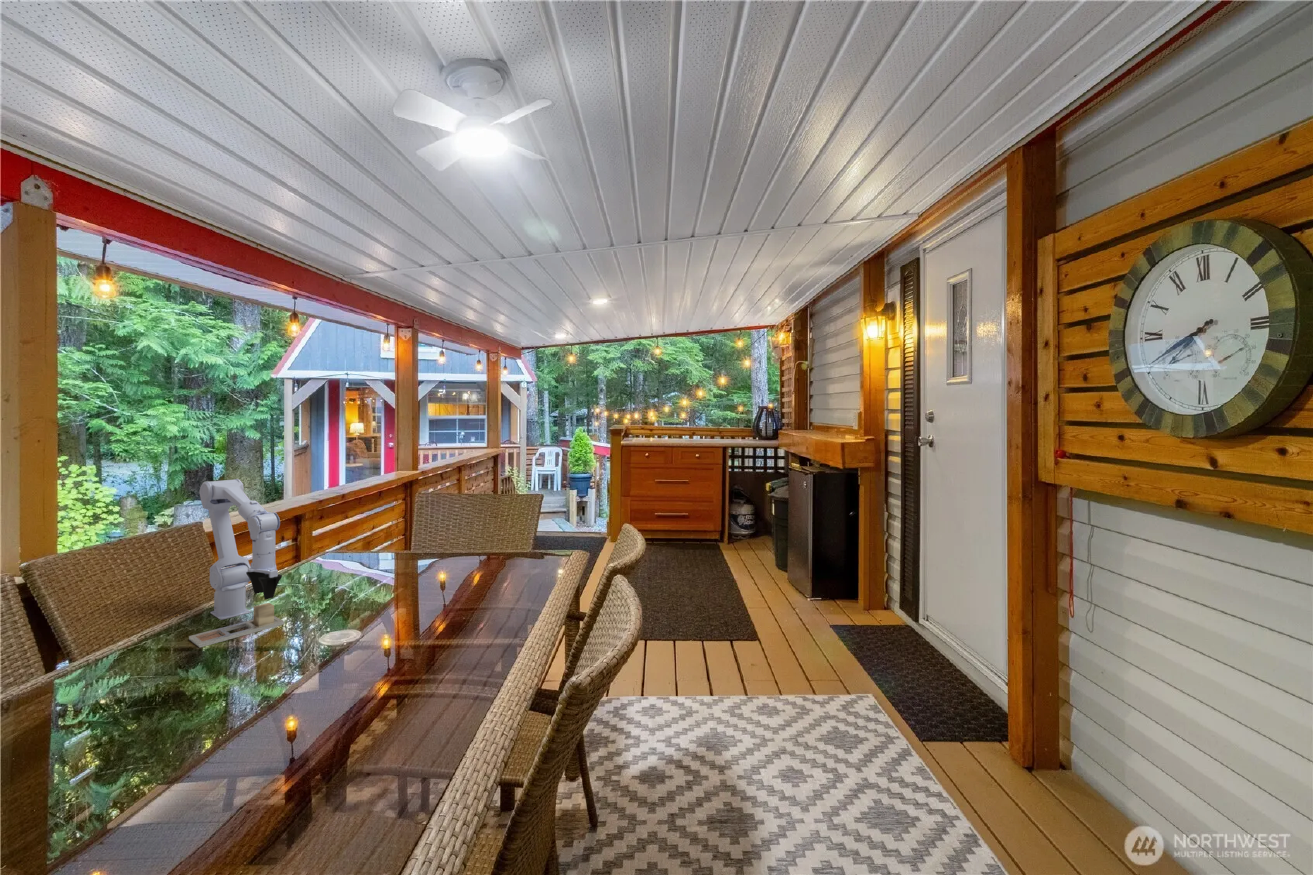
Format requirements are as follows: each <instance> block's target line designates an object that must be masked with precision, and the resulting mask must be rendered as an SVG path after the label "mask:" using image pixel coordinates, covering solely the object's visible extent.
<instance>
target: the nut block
mask: <svg viewBox="0 0 1313 875" xmlns="http://www.w3.org/2000/svg"><path fill="white" fill-rule="evenodd" d="M274 616H275V605H274V604H272V603H270V602H266V603H262V604H257V605H254V606H253V619H254V624H253V625H255V626H261V625H265V624H269V623H272V622H274Z"/></svg>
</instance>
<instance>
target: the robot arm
mask: <svg viewBox="0 0 1313 875" xmlns="http://www.w3.org/2000/svg"><path fill="white" fill-rule="evenodd" d="M198 492H199V496H200V502H201V506H202V508H203V509H204V510H207V511H208V516H209V519H210V524H211V529H212V533H213V538H214V544H215V548H216V553H217V557H218V560H217V561H215V562H214V563H213V564H212V565H211V566H210V567H209V583H210V586H211V588H212V589H214V590H215V591H214V594H213V595H214V596H213V600H214V601H213V602H214V603H213V609H214V610H212V611H210V612H209V613H210V614H211V615H213V616H214V617H215V618H217V619H218V620H220V621H223V620H226V619H227V620H228V619H231V618H234V617H235V618H236V617H239V616H243V615H248V614H251V613H252V611H251V610H249V609H248V608H247V607H246V606H247V605H246V603H247V601H246V599H247V598H246V595H247V593H246V590H247V589H246V588H247V586H248V585H249V583H251V586H252V590H253V593H254V594H255V595H257V594H261V593H263V597H264V600H270V599H273V598H274V597H275V593H276V591H277V587H278V584H279V583H280V581H281V579H282V576H283V575H282V574H279V571H278V569H277V564H276V531H278V530H279V529H280V526H281V520H280V517H279V515H278V514H277V512H275V511H272V512H271V511H267V509H266V508H264V507H263V505H261V504H260V502H258V501H257V500H251V499H250V498H249V496H247V494H246V493H245V491H244V483H243V482H242V481H241V480H240V479H239V478H234V479H226V480H224V479H223V480H215V481H214V480H212V481H209V480H208V481H207V480H205V481H204V482H202V484H201V485H200V489H199V491H198ZM233 506H235V507H237V508H238V509H237V512H238V515H239V516H240V517H241V518H242V519H243V520H245V522H247V527H248V531H249V536H250V540H252V542H251V543H252V547H251V548H252V549H251V550H252V553H251V554H252V558H251V559H252V560H251V561H252V562H250V561H249V559H248V558H246V557H244V556H241V555H239V553H238V549H237V544H236V538H235V534H234V529H233V526H232V520H231V516H230V507H231V508H232V507H233Z"/></svg>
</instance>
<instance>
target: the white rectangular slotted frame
mask: <svg viewBox="0 0 1313 875" xmlns="http://www.w3.org/2000/svg"><path fill="white" fill-rule="evenodd" d="M284 622H285V621H284V620H283V619H281V618H279V617H277V616H276V615H274V622H272V623H269V624H265V625H261V626H255V625H254V618H253V619H250V620H246V621H242V622H238V623H234V624H230V625H227V626H224V627H223V626H222V627H219V628H216V629H211V630H207V631H204V632H200V633H196V634H193V635H189V636H188V640H189V641H190V642H192V643H193V644H194V645H195V646H197V647H198V648H203V647H206V646H210V645H214V644H217V643H221V642H225V641H228V640H232V639H235V638H239V637H243V636H246V635H250V634H254V633H257V632H261V631H265V630H268V629H272V628H275V627H279V626H282V625H284V624H285V623H284ZM245 627H246V628H247V629H244V630H240V631H236V632H232V633H230V631H233V630H238V629H241V628H245Z"/></svg>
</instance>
